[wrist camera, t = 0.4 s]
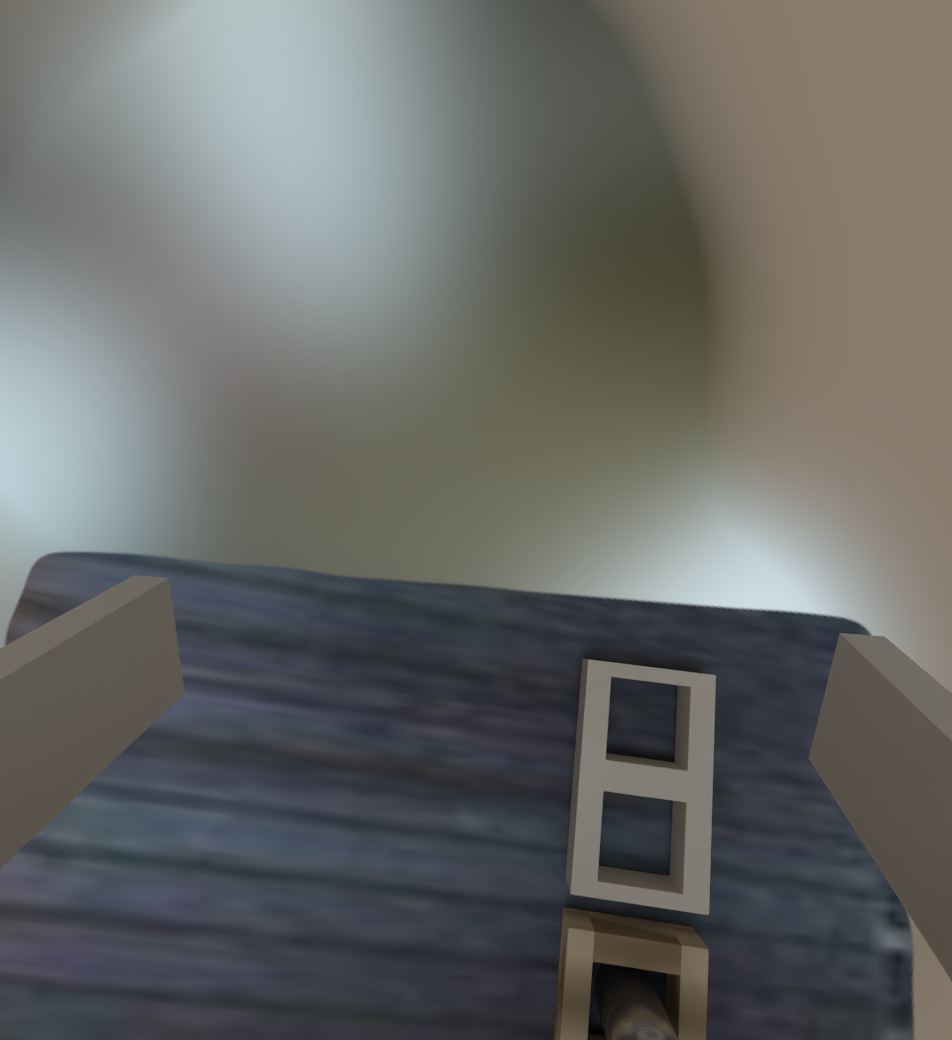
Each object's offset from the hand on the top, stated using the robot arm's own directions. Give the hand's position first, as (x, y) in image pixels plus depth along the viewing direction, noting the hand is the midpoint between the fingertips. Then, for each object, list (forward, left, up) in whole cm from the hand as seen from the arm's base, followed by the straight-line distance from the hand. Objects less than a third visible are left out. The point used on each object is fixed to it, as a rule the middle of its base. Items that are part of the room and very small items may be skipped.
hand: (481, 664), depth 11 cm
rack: (-12, -6, -33) cm, 36 cm away
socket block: (-24, +1, -33) cm, 41 cm away
